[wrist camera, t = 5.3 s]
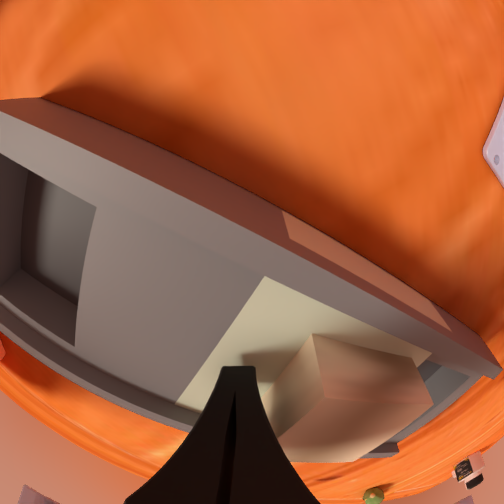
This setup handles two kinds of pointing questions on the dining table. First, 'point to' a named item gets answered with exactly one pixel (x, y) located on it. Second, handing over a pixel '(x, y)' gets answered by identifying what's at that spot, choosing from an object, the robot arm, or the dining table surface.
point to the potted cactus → (1, 350)
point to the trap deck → (187, 276)
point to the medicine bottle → (470, 470)
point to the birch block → (342, 400)
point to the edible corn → (373, 496)
